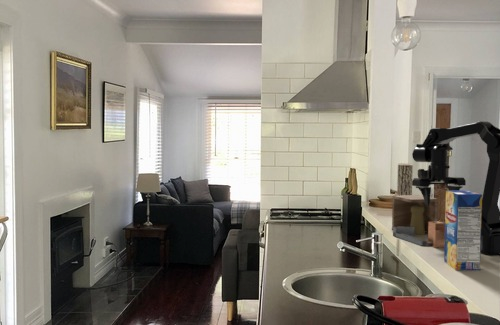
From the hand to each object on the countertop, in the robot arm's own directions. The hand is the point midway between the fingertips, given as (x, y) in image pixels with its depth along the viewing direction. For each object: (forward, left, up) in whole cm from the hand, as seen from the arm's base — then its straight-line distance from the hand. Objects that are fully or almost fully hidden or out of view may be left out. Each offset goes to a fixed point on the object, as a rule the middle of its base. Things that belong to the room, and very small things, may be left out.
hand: (438, 205), depth 197 cm
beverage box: (-33, +15, -13) cm, 39 cm away
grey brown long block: (+2, +6, -13) cm, 15 cm away
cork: (+17, -2, -13) cm, 22 cm away
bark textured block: (+57, -21, -13) cm, 62 cm away
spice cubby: (+19, -2, -13) cm, 23 cm away
